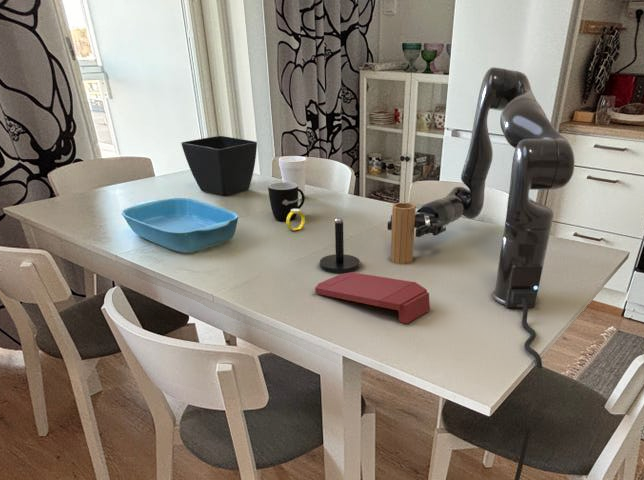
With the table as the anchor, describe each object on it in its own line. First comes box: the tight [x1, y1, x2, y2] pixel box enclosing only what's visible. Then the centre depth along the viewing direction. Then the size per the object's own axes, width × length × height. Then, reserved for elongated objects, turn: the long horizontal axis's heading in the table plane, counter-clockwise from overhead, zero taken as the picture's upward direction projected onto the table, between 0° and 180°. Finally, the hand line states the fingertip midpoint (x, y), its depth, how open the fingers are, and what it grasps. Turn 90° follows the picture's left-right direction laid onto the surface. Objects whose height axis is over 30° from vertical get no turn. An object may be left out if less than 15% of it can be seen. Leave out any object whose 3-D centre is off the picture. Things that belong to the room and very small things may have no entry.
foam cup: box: [278, 155, 308, 200], centre depth 181 cm, size 10×9×13 cm
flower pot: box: [180, 135, 258, 197], centre depth 186 cm, size 19×19×17 cm
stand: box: [319, 217, 361, 274], centre depth 127 cm, size 10×10×12 cm
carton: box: [314, 271, 431, 325], centre depth 114 cm, size 12×5×25 cm
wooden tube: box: [390, 202, 417, 265], centre depth 131 cm, size 6×6×14 cm
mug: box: [267, 181, 305, 223], centre depth 161 cm, size 12×9×10 cm
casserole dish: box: [121, 197, 239, 254], centre depth 145 cm, size 37×22×7 cm, turn 49°
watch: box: [285, 208, 306, 232], centre depth 152 cm, size 6×3×6 cm, turn 134°
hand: (402, 229), depth 130 cm, fingers open, 8 cm apart
